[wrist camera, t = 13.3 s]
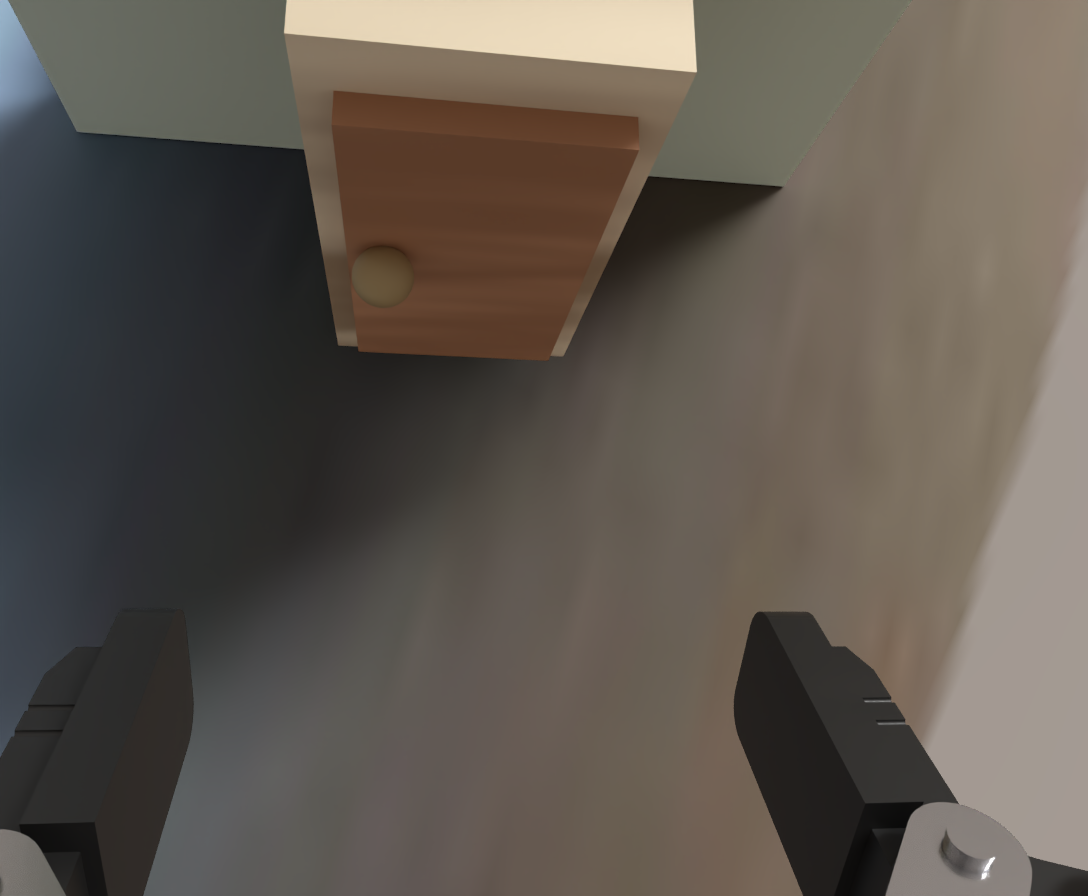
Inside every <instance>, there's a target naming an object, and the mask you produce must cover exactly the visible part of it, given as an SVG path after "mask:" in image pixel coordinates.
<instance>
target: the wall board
mask: <svg viewBox="0 0 1088 896" xmlns="http://www.w3.org/2000/svg"><path fill="white" fill-rule="evenodd" d="M8 1H9V3H10V5H11V7H12V8H13V10H14V12H15V14H16V16H17V18H18V20H19V22H20V24H21V26H22V28H23V29H24V31H25V33H26V35H27V37H28V39H29V41H30V43H31V45H32V47H33V49H34V50H35V52H36V54H37V56H38V58H39V60H40V62H41V64H42V66H43V68H44V70H45V71H46V73H47V75H48V77H49V79H50V81H51V83H52V85H53V87H54V89H55V91H56V92H57V94H58V96H59V98H60V100H61V102H62V104H63V106H64V108H65V110H66V112H67V113H68V115H69V117H70V119H71V121H72V123H73V125H74V127H75V129H76V131H77V132H85V133H98V134H111V135H124V136H137V137H150V138H163V139H175V140H188V141H201V142H214V143H227V144H240V145H253V146H266V147H279V148H292V149H304V145H303V140H302V134H301V128H300V122H299V117H298V111H297V105H296V99H295V94H294V88H293V82H292V76H291V70H290V65H289V59H288V53H287V47H286V42H285V36H284V27H285V15H286V3H287V0H8ZM911 1H912V0H693V11H694V29H695V47H696V65H697V73H696V75H695V78H694V80H693V82H692V84H691V86H690V88H689V90H688V92H687V95H686V97H685V99H684V101H683V103H682V105H681V107H680V109H679V112H678V114H677V116H676V118H675V120H674V122H673V124H672V126H671V129H670V131H669V133H668V135H667V137H666V139H665V141H664V143H663V146H662V148H661V150H660V152H659V154H658V156H657V158H656V160H655V163H654V165H653V167H652V169H651V171H650V173H649V175H648V176H654V177H667V178H680V179H693V180H706V181H719V182H732V183H745V184H758V185H771V186H783V187H784V186H785V184H786V183H787V181H788V180H789V178H790V177H791V175H792V174H793V173H794V171H795V170H796V168H797V167H798V165H799V164H800V162H801V161H802V159H803V158H804V157H805V155H806V154H807V152H808V151H809V149H810V148H811V146H812V145H813V143H814V142H815V141H816V139H817V138H818V136H819V135H820V133H821V132H822V130H823V129H824V128H825V126H826V125H827V123H828V122H829V120H830V119H831V117H832V116H833V114H834V113H835V112H836V110H837V109H838V107H839V106H840V104H841V103H842V101H843V100H844V98H845V97H846V96H847V94H848V93H849V91H850V90H851V88H852V87H853V85H854V84H855V83H856V81H857V80H858V78H859V77H860V75H861V74H862V72H863V71H864V69H865V68H866V67H867V65H868V64H869V62H870V61H871V59H872V58H873V56H874V55H875V53H876V52H877V51H878V49H879V48H880V46H881V45H882V43H883V42H884V40H885V39H886V37H887V36H888V35H889V33H890V32H891V30H892V29H893V27H894V26H895V24H896V23H897V22H898V20H899V19H900V17H901V16H902V14H903V13H904V11H905V10H906V8H907V7H908V6H909V4H910V3H911Z"/></svg>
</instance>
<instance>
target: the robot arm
mask: <svg viewBox="0 0 1088 896" xmlns="http://www.w3.org/2000/svg"><path fill="white" fill-rule="evenodd" d="M193 705H194V703H193V688H192V679H191V669H190V660H189V650H188V641H187V631H186V622H185V616H184V613H183V611H182V610H181V609H122V610H121V611H120V612H119V613H118V615H117V617H116V619H115V621H114V623H113V626H112V628H111V630H110V632H109V634H108V636H107V638H106V640H105V643H104V645H103V647H76V648H75V649H73V650H72V651H71V652H70V653H69V654H68V655H66V656H65V657H64V658H63V659H62V660H61V661H59V662H58V663H57V664H56V665H55V666H54V667H53V668H51V669H50V670H49V671H48V672H47V673H46V674H45V675H44V677H43V679H42V680H41V682H40V684H39V686H38V688H37V690H36V692H35V694H34V695H33V697H32V699H31V701H30V703H29V705H28V706H29V707H28V711H25V712H24V714H23V716H22V718H21V720H20V722H19V723H18V725H17V727H16V729H15V735H14V737H11V738H10V740H9V742H8V744H7V746H6V748H5V750H4V752H3V753H2V755H1V757H0V896H143V894H144V891H145V887H146V884H147V881H148V877H149V874H150V871H151V867H152V864H153V861H154V857H155V854H156V851H157V848H158V844H159V841H160V838H161V834H162V831H163V828H164V824H165V821H166V818H167V814H168V811H169V808H170V804H171V801H172V798H173V794H174V791H175V788H176V785H177V781H178V778H179V775H180V771H181V768H182V765H183V761H184V758H185V755H186V751H187V748H188V745H189V741H190V736H191V730H192V722H193ZM734 718H735V725H736V729H737V733H738V736H739V739H740V741H741V744H742V746H743V749H744V751H745V754H746V756H747V759H748V761H749V764H750V766H751V769H752V771H753V773H754V776H755V778H756V781H757V783H758V786H759V788H760V791H761V793H762V796H763V798H764V800H765V803H766V805H767V808H768V810H769V813H770V815H771V818H772V820H773V823H774V825H775V828H776V830H777V832H778V835H779V837H780V840H781V842H782V845H783V847H784V850H785V852H786V855H787V857H788V859H789V862H790V864H791V867H792V869H793V872H794V874H795V877H796V879H797V882H798V884H799V887H800V889H801V891H802V894H803V896H1088V871H1085V870H1081V869H1076V868H1072V867H1068V866H1064V865H1060V864H1056V863H1052V862H1047V861H1043V860H1040V859H1036V858H1033V857H1029V856H1028V855H1027V853H1026V852H1025V850H1024V849H1023V847H1022V845H1021V844H1020V843H1019V841H1018V840H1017V839H1016V838H1015V837H1014V836H1013V835H1012V834H1011V833H1010V832H1009V831H1008V830H1007V829H1006V828H1005V827H1003V826H1002V825H1001V824H1000V823H998V822H997V821H995V820H994V819H992V818H991V817H989V816H987V815H985V814H983V813H982V812H979V811H977V810H975V809H972V808H970V807H967V806H964V805H960V804H959V803H958V802H957V800H956V798H955V797H954V795H953V794H952V792H951V790H950V789H949V787H948V786H947V784H946V783H945V781H944V780H943V778H942V776H941V775H940V773H939V772H938V770H937V769H936V767H935V765H934V764H933V762H932V761H931V759H930V758H929V756H928V754H927V753H926V751H925V750H924V748H923V747H922V745H921V743H920V742H919V740H918V739H917V737H916V736H915V734H914V732H913V731H912V729H911V728H910V726H909V725H906V724H905V718H904V717H903V715H902V714H901V712H900V710H899V709H898V707H897V706H896V704H895V703H892V702H891V696H890V695H889V693H888V692H887V690H886V688H885V687H884V685H883V684H882V682H881V681H880V679H879V677H878V676H877V674H876V673H875V671H874V670H873V669H872V668H871V667H869V666H868V665H867V664H866V663H865V662H863V661H862V660H861V659H860V658H859V657H857V656H856V655H855V654H854V653H853V652H851V651H850V650H849V649H848V648H847V647H832V646H831V645H830V643H829V641H828V640H827V638H826V636H825V635H824V633H823V631H822V630H821V628H820V626H819V625H818V623H817V621H816V620H815V618H814V617H813V615H812V614H810V613H809V612H757V613H756V614H755V616H754V617H753V619H752V622H751V625H750V630H749V634H748V638H747V643H746V647H745V651H744V655H743V660H742V664H741V668H740V673H739V677H738V681H737V685H736V690H735V696H734Z"/></svg>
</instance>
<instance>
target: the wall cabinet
mask: <svg viewBox="0 0 1088 896" xmlns="http://www.w3.org/2000/svg"><path fill="white" fill-rule="evenodd" d="M284 36H285V42H286V47H287V53H288V59H289V65H290V70H291V76H292V82H293V88H294V94H295V99H296V105H297V111H298V117H299V122H300V128H301V134H302V140H303V145H304V151H305V157H306V163H307V168H308V174H309V180H310V186H311V191H312V197H313V203H314V209H315V214H316V220H317V226H318V232H319V237H320V243H321V249H322V255H323V261H324V266H325V272H326V278H327V284H328V289H329V295H330V301H331V307H332V312H333V318H334V324H335V330H336V335H337V341H338V345H339V346H358V352H377V353H398V354H418V355H439V356H460V357H481V358H501V359H522V360H543V361H548V360H549V358H550V356H564V354H565V352H566V350H567V348H568V345H569V343H570V341H571V339H572V337H573V335H574V333H575V331H576V328H577V326H578V324H579V322H580V320H581V318H582V316H583V314H584V311H585V309H586V307H587V305H588V303H589V301H590V299H591V297H592V294H593V292H594V290H595V288H596V286H597V284H598V282H599V279H600V277H601V275H602V273H603V271H604V269H605V267H606V265H607V262H608V260H609V258H610V256H611V254H612V252H613V250H614V248H615V245H616V243H617V241H618V239H619V237H620V235H621V233H622V231H623V228H624V226H625V224H626V222H627V220H628V218H629V216H630V214H631V211H632V209H633V207H634V205H635V203H636V201H637V199H638V197H639V194H640V192H641V190H642V188H643V186H644V184H645V182H646V180H647V177H648V175H649V173H650V171H651V169H652V167H653V165H654V163H655V160H656V158H657V156H658V154H659V152H660V150H661V148H662V146H663V143H664V141H665V139H666V137H667V135H668V133H669V131H670V129H671V126H672V124H673V122H674V120H675V118H676V116H677V114H678V112H679V109H680V107H681V105H682V103H683V101H684V99H685V97H686V95H687V92H688V90H689V88H690V86H691V84H692V82H693V80H694V78H695V75H696V73H697V65H696V47H695V29H694V11H693V0H287V3H286V15H285V27H284Z"/></svg>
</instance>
